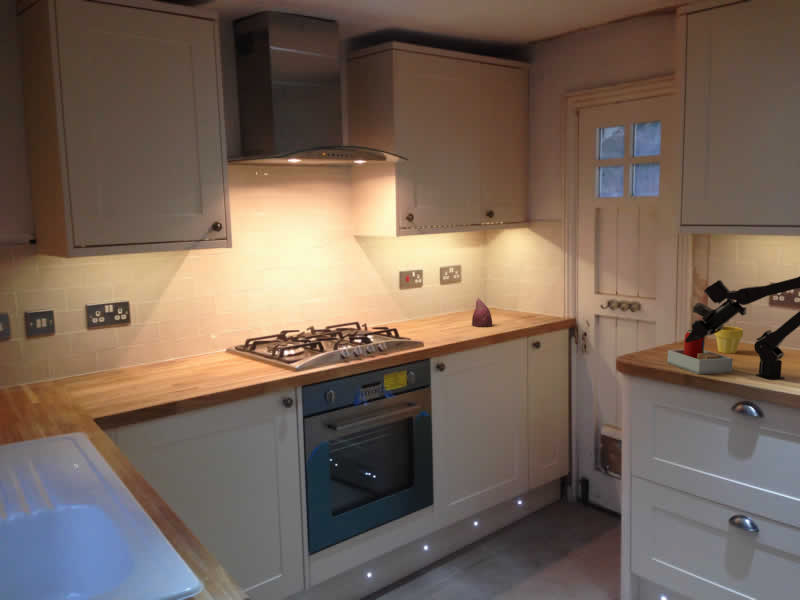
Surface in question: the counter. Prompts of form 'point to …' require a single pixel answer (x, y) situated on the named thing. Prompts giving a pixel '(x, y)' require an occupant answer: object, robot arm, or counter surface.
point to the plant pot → (728, 339)
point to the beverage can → (693, 346)
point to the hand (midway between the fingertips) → (690, 340)
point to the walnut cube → (707, 356)
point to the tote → (700, 363)
